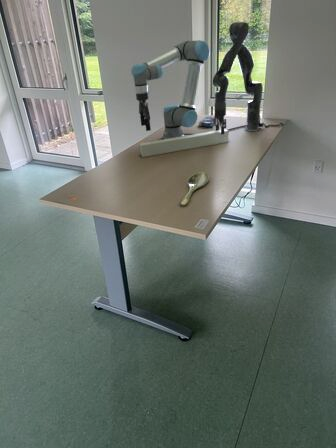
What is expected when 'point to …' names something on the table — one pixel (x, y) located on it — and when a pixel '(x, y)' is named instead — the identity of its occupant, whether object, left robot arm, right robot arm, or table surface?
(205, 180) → the spoon
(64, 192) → the table surface
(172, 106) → the left robot arm
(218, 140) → the beam
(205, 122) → the spray gun
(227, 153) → the table surface
